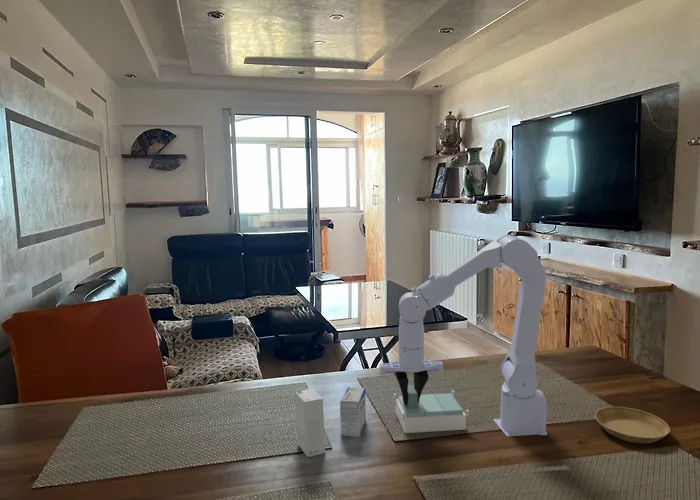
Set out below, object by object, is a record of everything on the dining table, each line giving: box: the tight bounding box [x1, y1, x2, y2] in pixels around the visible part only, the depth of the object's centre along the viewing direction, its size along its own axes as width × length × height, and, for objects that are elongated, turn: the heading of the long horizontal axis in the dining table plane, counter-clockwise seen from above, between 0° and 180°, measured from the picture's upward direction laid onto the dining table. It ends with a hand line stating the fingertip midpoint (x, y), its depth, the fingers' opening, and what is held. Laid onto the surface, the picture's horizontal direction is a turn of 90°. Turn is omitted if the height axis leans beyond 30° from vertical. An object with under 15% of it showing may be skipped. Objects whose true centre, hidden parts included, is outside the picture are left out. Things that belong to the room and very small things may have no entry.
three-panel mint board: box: [397, 384, 464, 417], centre depth 116 cm, size 13×9×4 cm
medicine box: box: [339, 386, 367, 438], centre depth 114 cm, size 8×4×9 cm, turn 168°
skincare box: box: [294, 388, 326, 458], centre depth 106 cm, size 6×4×12 cm
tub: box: [392, 390, 470, 434], centre depth 117 cm, size 15×11×5 cm
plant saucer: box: [594, 406, 671, 444], centre depth 113 cm, size 15×15×3 cm
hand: (410, 402), depth 116 cm, fingers closed on three-panel mint board, 2 cm apart
